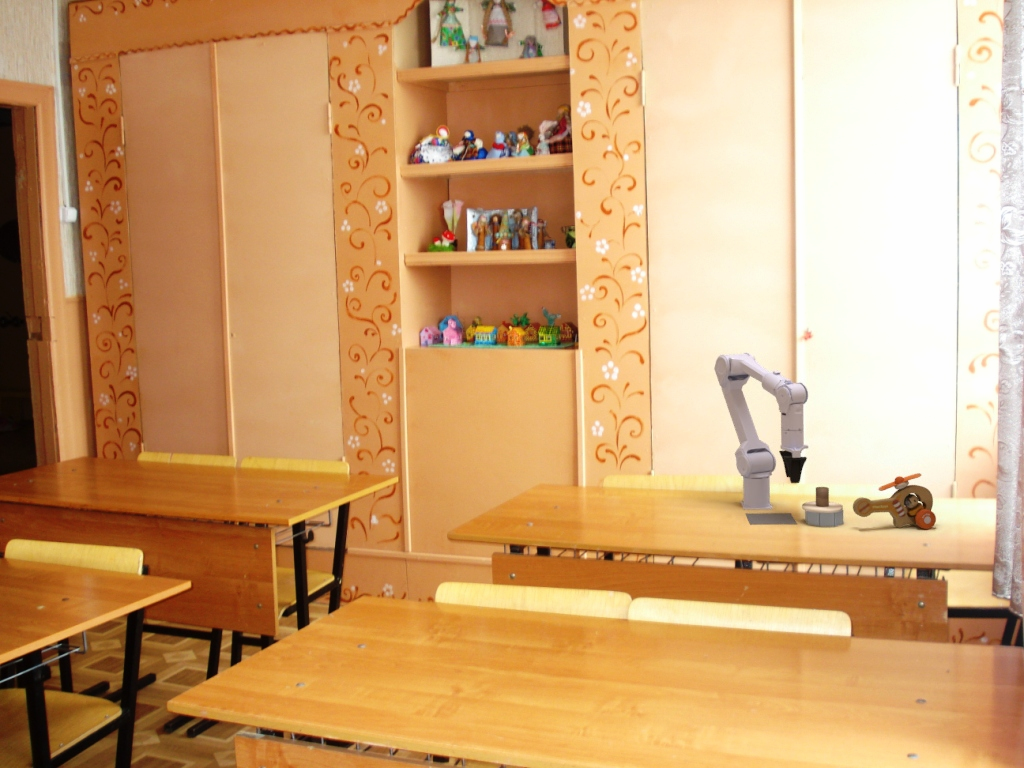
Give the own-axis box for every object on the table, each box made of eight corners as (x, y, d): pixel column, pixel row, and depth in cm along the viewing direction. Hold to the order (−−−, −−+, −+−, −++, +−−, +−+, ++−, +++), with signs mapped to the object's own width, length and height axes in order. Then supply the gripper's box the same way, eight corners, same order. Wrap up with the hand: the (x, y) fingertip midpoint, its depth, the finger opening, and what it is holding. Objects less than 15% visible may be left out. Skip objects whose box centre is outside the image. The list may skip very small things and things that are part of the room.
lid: (799, 504, 262) (799, 484, 262) (839, 504, 261) (839, 483, 260) (805, 513, 252) (804, 492, 252) (845, 513, 251) (845, 492, 250)
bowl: (803, 519, 262) (803, 504, 262) (838, 519, 261) (838, 504, 260) (809, 528, 253) (808, 512, 253) (845, 527, 252) (845, 512, 251)
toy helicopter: (940, 528, 248) (940, 474, 246) (862, 534, 245) (862, 480, 244) (922, 521, 256) (923, 468, 255) (846, 526, 253) (846, 473, 252)
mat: (745, 514, 269) (745, 513, 269) (790, 514, 268) (790, 513, 268) (750, 525, 258) (750, 524, 257) (797, 525, 256) (797, 524, 256)
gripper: (812, 433, 254) (813, 485, 255) (803, 424, 268) (804, 474, 269) (784, 433, 255) (784, 485, 256) (776, 425, 269) (777, 474, 270)
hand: (792, 479), depth 263 cm, fingers open, 7 cm apart
